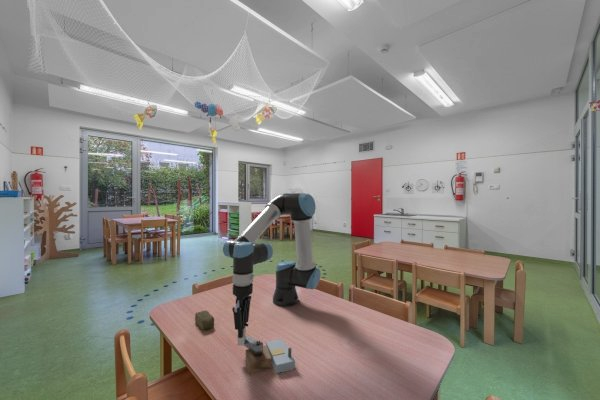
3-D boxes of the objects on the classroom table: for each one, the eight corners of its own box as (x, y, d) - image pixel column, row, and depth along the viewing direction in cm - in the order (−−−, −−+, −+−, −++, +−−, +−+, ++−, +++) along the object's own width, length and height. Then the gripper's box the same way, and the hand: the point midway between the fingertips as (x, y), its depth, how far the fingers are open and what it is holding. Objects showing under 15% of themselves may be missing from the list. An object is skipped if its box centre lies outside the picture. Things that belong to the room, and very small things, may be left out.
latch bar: (265, 353, 94) (265, 341, 94) (257, 357, 91) (257, 345, 91) (247, 339, 102) (247, 329, 102) (239, 343, 100) (239, 332, 100)
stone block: (202, 331, 116) (202, 321, 116) (194, 322, 124) (194, 312, 124) (215, 327, 120) (215, 317, 119) (206, 318, 128) (206, 308, 128)
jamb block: (266, 355, 99) (266, 345, 99) (271, 368, 92) (271, 357, 92) (245, 360, 96) (245, 349, 96) (249, 374, 89) (249, 362, 89)
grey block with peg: (282, 345, 106) (282, 331, 106) (294, 368, 92) (295, 352, 92) (266, 349, 103) (266, 334, 103) (276, 373, 89) (276, 356, 89)
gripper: (245, 289, 90) (244, 355, 90) (257, 278, 103) (256, 336, 103) (225, 288, 91) (224, 353, 92) (240, 277, 104) (239, 334, 104)
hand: (241, 344), depth 97 cm, fingers closed
